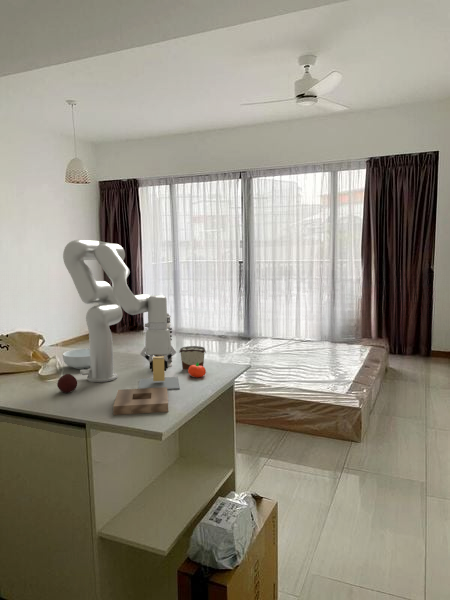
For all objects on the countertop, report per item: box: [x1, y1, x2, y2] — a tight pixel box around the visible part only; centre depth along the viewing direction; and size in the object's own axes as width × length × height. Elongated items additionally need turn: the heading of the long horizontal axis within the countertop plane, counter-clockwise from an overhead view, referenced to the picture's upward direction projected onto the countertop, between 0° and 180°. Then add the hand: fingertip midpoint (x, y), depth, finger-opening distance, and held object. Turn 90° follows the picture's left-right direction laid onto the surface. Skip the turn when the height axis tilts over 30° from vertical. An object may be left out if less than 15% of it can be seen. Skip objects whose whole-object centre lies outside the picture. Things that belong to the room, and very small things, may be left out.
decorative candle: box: [153, 312, 173, 367], centre depth 209 cm, size 9×9×25 cm
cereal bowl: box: [62, 348, 90, 370], centre depth 208 cm, size 17×17×7 cm
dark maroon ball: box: [56, 373, 78, 394], centre depth 169 cm, size 7×8×7 cm
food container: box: [178, 345, 207, 371], centre depth 203 cm, size 12×6×10 cm, turn 84°
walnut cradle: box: [112, 387, 169, 416], centre depth 155 cm, size 18×18×3 cm
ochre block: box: [152, 356, 165, 381], centre depth 178 cm, size 4×4×9 cm
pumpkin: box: [187, 363, 207, 378], centre depth 190 cm, size 7×8×6 cm
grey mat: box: [137, 376, 180, 391], centre depth 179 cm, size 16×16×1 cm
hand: (158, 370), depth 178 cm, fingers closed on ochre block, 4 cm apart
